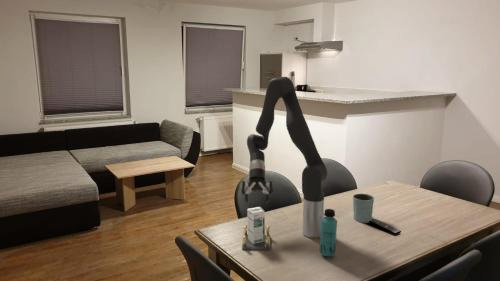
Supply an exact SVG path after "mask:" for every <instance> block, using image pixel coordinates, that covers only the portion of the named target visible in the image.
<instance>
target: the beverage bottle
mask: <svg viewBox="0 0 500 281" xmlns="http://www.w3.org/2000/svg"><path fill="white" fill-rule="evenodd" d="M335 211H336V210H334V209H332V208H327V209H324V212H323V213H324V218H323V219H322V220H321V238H320V237H319V239H320V240H319V254H321V255H322V256H324V257H333V256H335V254H336V251H337V228H338V220H337V219H336V218H335V216H336V214H335V213H336V212H335Z"/></svg>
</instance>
